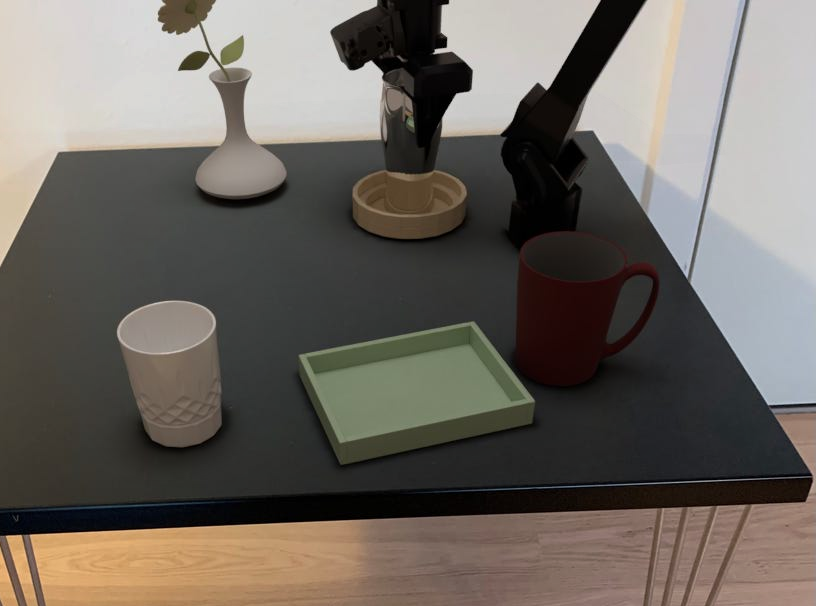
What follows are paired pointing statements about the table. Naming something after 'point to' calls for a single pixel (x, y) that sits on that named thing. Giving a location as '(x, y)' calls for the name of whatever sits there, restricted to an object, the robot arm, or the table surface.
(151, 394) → the white cup
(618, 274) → the mug
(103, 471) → the table surface
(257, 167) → the flower in vase
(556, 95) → the robot arm
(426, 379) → the tray
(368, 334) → the table surface
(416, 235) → the round tan dish
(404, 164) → the polished metal tumbler
